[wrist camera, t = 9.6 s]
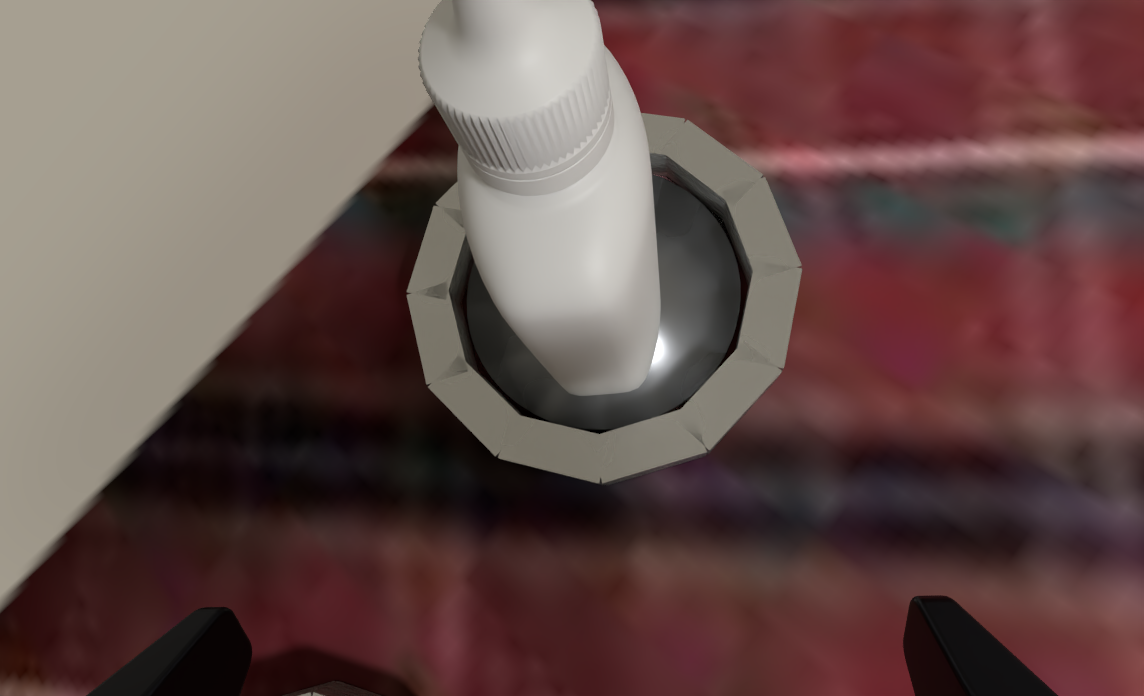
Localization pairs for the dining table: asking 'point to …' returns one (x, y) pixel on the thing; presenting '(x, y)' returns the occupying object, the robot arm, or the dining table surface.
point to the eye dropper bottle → (552, 182)
